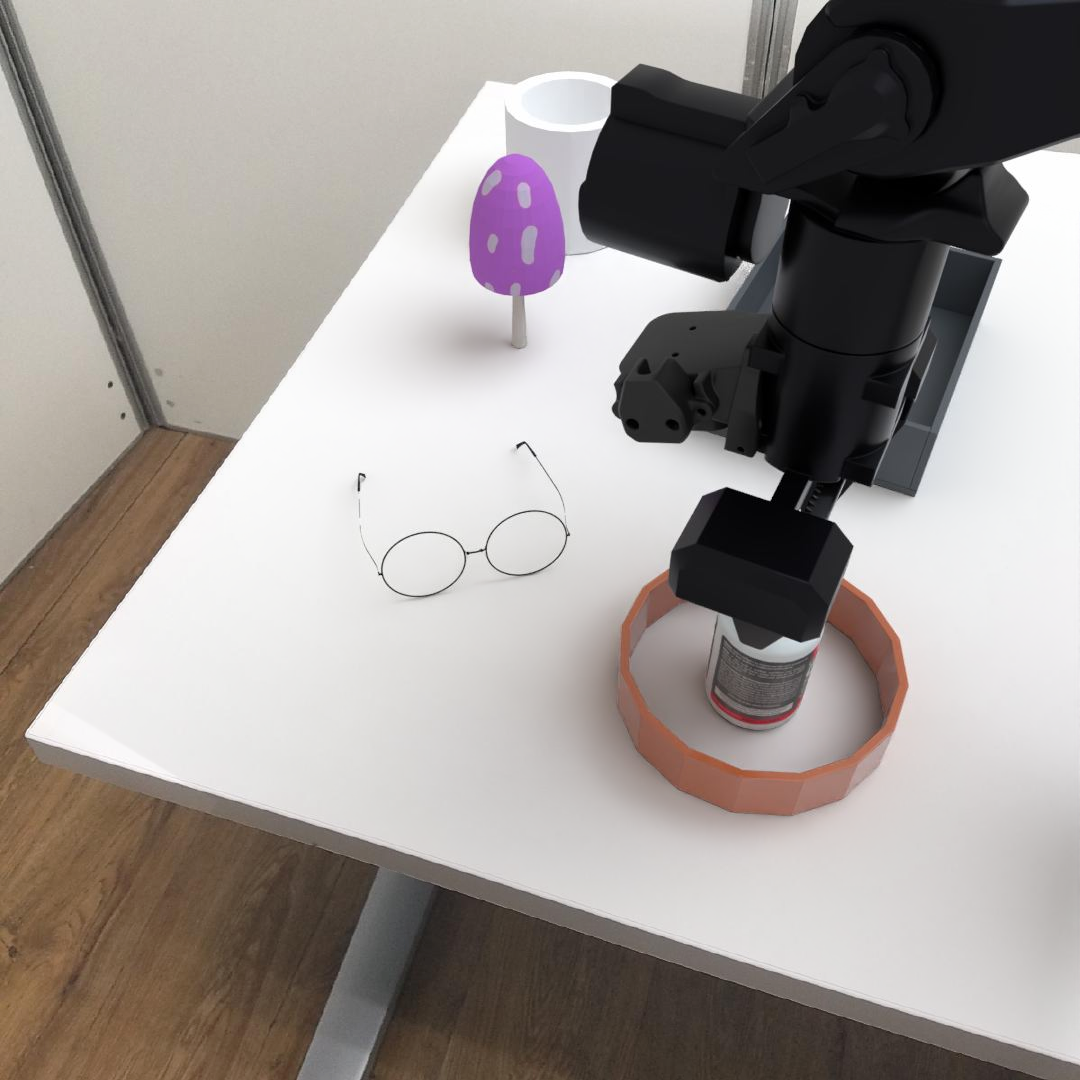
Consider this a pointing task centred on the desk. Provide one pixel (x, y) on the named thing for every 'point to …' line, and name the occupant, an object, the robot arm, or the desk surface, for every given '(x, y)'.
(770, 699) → the pill bottle
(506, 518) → the eyeglasses
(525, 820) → the desk surface
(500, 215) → the toy
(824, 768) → the ring
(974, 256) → the bin
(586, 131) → the mug
